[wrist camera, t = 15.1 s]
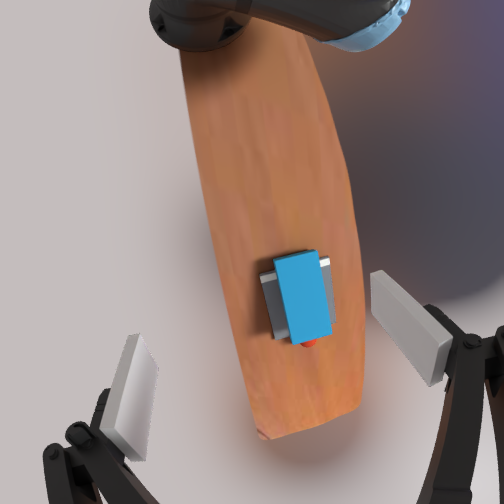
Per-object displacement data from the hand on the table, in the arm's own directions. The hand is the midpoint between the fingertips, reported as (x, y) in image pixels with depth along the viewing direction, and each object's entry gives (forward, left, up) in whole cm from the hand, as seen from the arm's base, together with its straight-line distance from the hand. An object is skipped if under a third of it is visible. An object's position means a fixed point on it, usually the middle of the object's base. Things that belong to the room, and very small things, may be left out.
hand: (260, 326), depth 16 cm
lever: (+16, +14, -31) cm, 37 cm away
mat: (+16, +14, -32) cm, 38 cm away
